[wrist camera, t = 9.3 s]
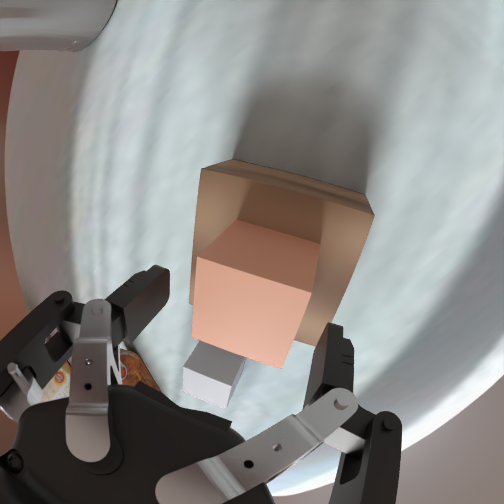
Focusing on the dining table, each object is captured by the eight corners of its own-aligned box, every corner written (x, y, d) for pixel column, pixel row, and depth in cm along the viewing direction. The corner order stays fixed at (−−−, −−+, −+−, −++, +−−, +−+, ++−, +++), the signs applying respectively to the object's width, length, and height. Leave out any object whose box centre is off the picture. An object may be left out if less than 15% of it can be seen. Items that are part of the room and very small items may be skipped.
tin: (169, 403, 39) (146, 440, 32) (155, 399, 40) (131, 434, 33) (131, 338, 33) (95, 378, 26) (116, 335, 35) (81, 372, 27)
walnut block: (231, 159, 19) (201, 168, 15) (365, 194, 18) (374, 215, 13) (215, 272, 24) (189, 303, 20) (324, 306, 22) (319, 347, 18)
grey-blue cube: (204, 334, 28) (183, 366, 24) (247, 350, 27) (231, 386, 23) (201, 362, 31) (183, 392, 26) (240, 376, 30) (225, 409, 25)
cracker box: (53, 349, 50) (3, 400, 32) (65, 356, 48) (12, 411, 30) (78, 387, 55) (36, 435, 37) (91, 394, 54) (48, 446, 35)
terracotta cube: (236, 219, 16) (197, 256, 12) (320, 244, 15) (312, 292, 11) (225, 288, 18) (191, 336, 14) (297, 312, 17) (281, 368, 13)
